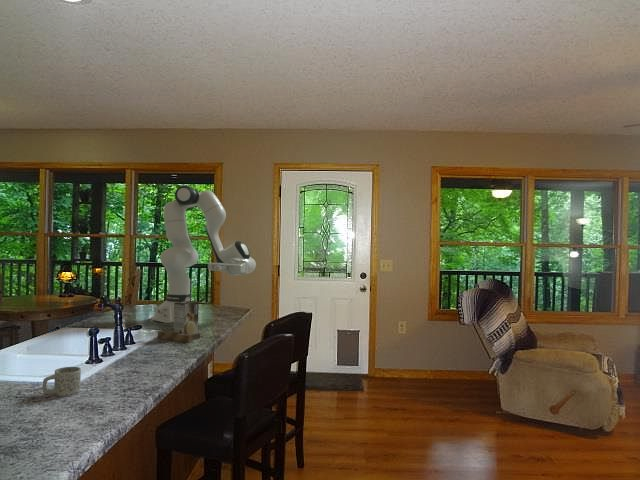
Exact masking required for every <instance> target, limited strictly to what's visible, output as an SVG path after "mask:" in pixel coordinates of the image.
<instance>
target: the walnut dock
mask: <svg viewBox="0 0 640 480" xmlns="http://www.w3.org/2000/svg"><path fill="white" fill-rule="evenodd" d="M200 338H201V333H199V332H198V333H197V334H193V335H188V334H181V333H175V332H174V330H173V331H168V330H158V331H157V339H162V340H168V341H174V342H181V343H187V344H190V343H193V341H194V340H199V339H200Z"/></svg>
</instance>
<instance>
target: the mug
mask: <svg viewBox="0 0 640 480" xmlns="http://www.w3.org/2000/svg"><path fill="white" fill-rule="evenodd" d="M81 372H82V369H81V367H79V366H65V367H60V368H56V369H55V370H54V374H51V375H49V376H46V377H44V378H43V379H42V393H43V395H54V396H56V397H59V398H61V397H63V398H64V397H72V396H75V395H78V394H79V393H81V374H82V373H81ZM50 380H54V383H53V384H54V385H53V386H54V388H52V389H49V390H48V389H47V385H48V382H49V381H50Z"/></svg>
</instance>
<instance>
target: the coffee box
mask: <svg viewBox="0 0 640 480" xmlns="http://www.w3.org/2000/svg"><path fill="white" fill-rule="evenodd" d="M199 307H200V306H199V301H195V300H190V301H183V302H177V303H174V322H173V331H174V332H175V333H181V334H188V335H193V334H197V333H199Z"/></svg>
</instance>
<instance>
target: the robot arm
mask: <svg viewBox="0 0 640 480" xmlns="http://www.w3.org/2000/svg"><path fill="white" fill-rule="evenodd" d="M174 198H175V200H172V201H171V200H170V201H168V202H166V203H165V205H164V208H163V219H164V220H163V221H164V229H165V235H166V238H167V240H169V242H170V243H171V246H172V247H169V248H167V249H165V250H163V251H162V252H161V254H160V263H161V265H162V266H164V269H165V270H166V271H165V272H166V275H167V278H168V293H167V294H164V298H165V300H164V301H163V302H162V303H161V304H159V305H158V306H157V307H156V308H155V313H154V316H153V315H152V316H150V320H152V321H156V322H161V323H166V324H168V323H171V324H173V323H174V303H177V302H183V301H192V295H191V278H190V277H189V276H188V275H187V274H188V273H187V270H186V268H190V267H192V266H194V265H196V264H197V263H198V261H199V257H200V256H199V252H198V251H197V250H196V249H195V247H194V246H193V244H192V242H191V239H190V236H189V232H188V225H187V220H186V211H190V210H192V209H194V208H195V207H198V208H199V209H200V211H201V213H202V214H203V216H204V219H205V222H206V226H205V232H206V235H207V237H208V240H209V242H210V245H211V248H212V250H213V253H214V256H215V261H216V262H209V263H208V264H207V269H208V271H214V272H226V273H227V274H228V275H229V276H232V277H233V276H240V275H248V274H251V273H253V272H254V271H255V269H256V268H257V263H256V260H255V259H254V258H252V257H251V255H250V250H249V247H248V246H247V245H246V243H244V242H242V241H239V240H236V241H235V242H234V241H233V243H231V244H230V245H228V246H227V247H225V248H224V247H223V243H222V242H221V238H220V236H219V232H220V229H221V228H222V226H223V224H224V223H225V222H226V218H227V213H226V209H225V207H224V206H223V204H222V203H221V201H220V199H219V198H218V197H217V195H216V194H215V192H213V191H212V190H209V189H208V190H202V191H201V192H200V191H198V190H197V189H195V188H193V187H191V186H190V185H186V184H185V185H184V184H183V185H180V186H179V187H177V188H176V190H175V192H174Z"/></svg>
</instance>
